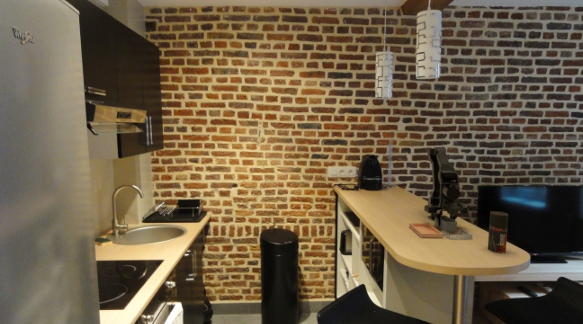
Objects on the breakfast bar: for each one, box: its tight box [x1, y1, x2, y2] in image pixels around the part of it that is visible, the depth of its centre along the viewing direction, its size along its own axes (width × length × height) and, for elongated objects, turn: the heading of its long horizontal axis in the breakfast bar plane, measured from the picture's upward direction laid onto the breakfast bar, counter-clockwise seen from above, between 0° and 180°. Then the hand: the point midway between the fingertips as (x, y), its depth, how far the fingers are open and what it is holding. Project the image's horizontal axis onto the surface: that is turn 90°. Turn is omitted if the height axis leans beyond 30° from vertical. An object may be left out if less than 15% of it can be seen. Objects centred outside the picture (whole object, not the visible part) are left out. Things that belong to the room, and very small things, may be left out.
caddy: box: [434, 214, 458, 233], centre depth 142 cm, size 11×5×5 cm, turn 177°
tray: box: [408, 222, 444, 239], centre depth 136 cm, size 15×9×2 cm, turn 177°
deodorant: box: [487, 210, 509, 254], centre depth 115 cm, size 6×6×15 cm
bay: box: [440, 228, 473, 240], centre depth 131 cm, size 8×10×2 cm
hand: (445, 226), depth 142 cm, fingers closed on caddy, 5 cm apart
